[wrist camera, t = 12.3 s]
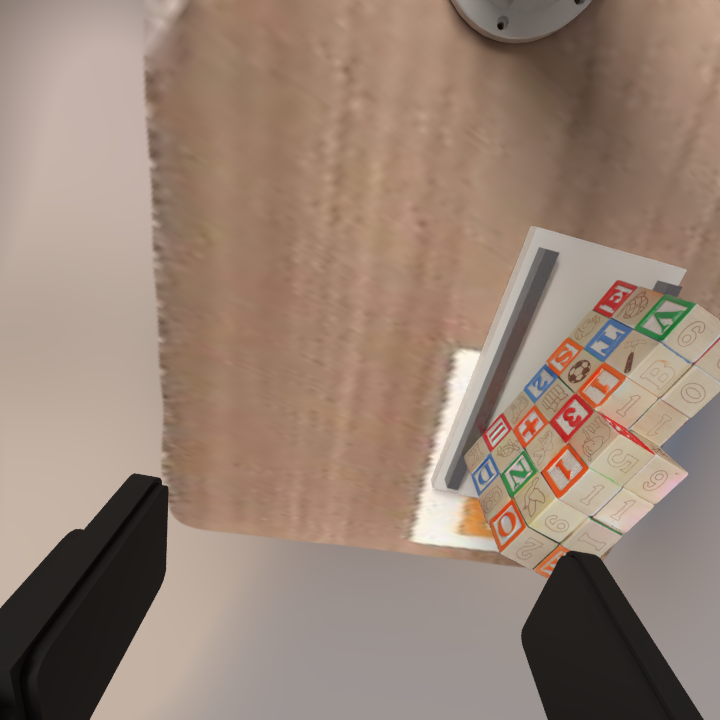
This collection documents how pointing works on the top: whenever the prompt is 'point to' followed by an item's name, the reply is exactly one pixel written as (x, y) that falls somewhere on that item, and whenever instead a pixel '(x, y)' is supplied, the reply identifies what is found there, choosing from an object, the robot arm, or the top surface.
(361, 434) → the top surface
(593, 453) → the stack of blocks
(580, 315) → the base board
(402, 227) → the top surface
